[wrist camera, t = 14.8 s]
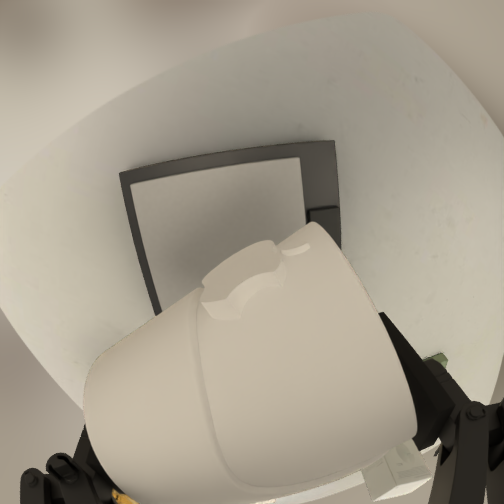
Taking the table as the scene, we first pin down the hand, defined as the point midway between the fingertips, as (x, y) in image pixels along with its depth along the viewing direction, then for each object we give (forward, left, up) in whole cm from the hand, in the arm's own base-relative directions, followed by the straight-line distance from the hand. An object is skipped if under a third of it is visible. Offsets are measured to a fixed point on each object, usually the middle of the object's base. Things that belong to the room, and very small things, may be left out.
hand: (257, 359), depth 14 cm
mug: (0, 0, -1) cm, 1 cm away
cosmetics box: (-20, +41, -13) cm, 47 cm away
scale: (0, 0, -13) cm, 13 cm away
